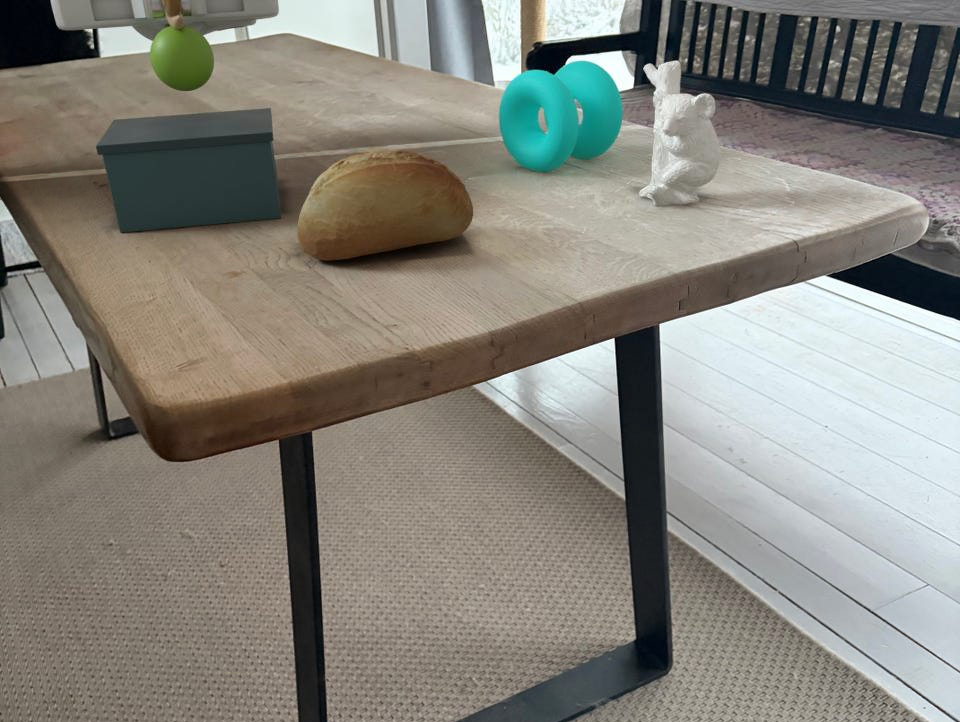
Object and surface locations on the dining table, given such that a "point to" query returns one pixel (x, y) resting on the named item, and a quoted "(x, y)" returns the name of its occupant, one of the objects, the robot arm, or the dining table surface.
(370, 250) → the bread roll
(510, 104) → the donuts
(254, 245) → the dining table surface
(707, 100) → the koala figurine
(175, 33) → the snail figurine
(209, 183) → the container
